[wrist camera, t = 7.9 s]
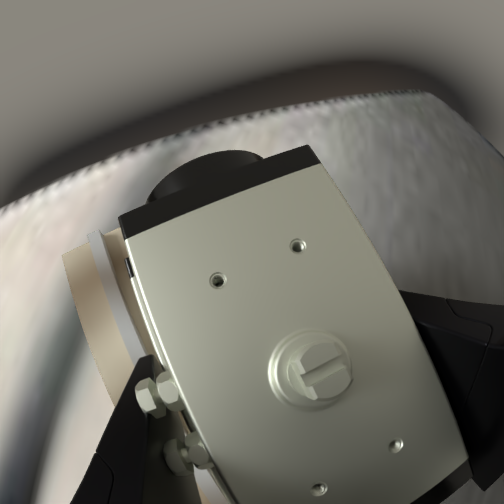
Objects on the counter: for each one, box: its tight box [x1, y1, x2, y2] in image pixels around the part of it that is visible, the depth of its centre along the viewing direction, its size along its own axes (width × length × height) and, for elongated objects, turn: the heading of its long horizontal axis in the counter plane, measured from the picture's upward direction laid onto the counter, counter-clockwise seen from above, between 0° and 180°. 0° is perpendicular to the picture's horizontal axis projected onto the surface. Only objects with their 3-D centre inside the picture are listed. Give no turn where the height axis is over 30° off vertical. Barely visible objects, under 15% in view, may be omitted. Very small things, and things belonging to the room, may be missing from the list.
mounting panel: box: [62, 228, 229, 504], centre depth 16 cm, size 22×14×2 cm, turn 28°
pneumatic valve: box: [118, 145, 474, 504], centre depth 10 cm, size 6×12×12 cm, turn 25°
